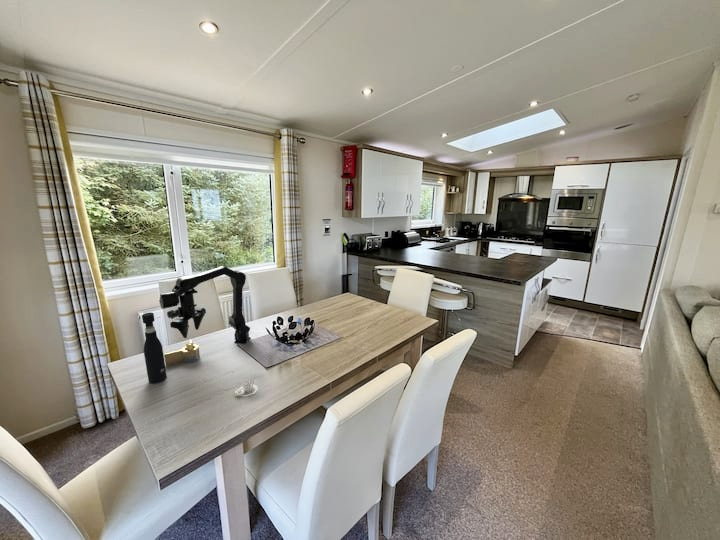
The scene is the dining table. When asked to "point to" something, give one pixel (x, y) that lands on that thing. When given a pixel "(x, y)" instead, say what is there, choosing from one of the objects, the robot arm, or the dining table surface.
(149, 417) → the dining table surface
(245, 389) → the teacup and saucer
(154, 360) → the black water bottle
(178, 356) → the hinge
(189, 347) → the hinge pin
